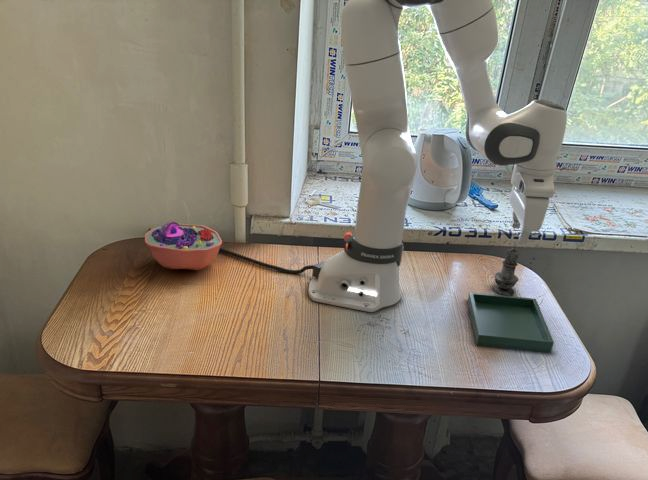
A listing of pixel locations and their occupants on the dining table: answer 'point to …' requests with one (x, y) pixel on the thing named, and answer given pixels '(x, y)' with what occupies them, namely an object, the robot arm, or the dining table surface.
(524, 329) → the tray
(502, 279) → the dark grey chess piece
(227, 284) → the dining table surface
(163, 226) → the cell model
